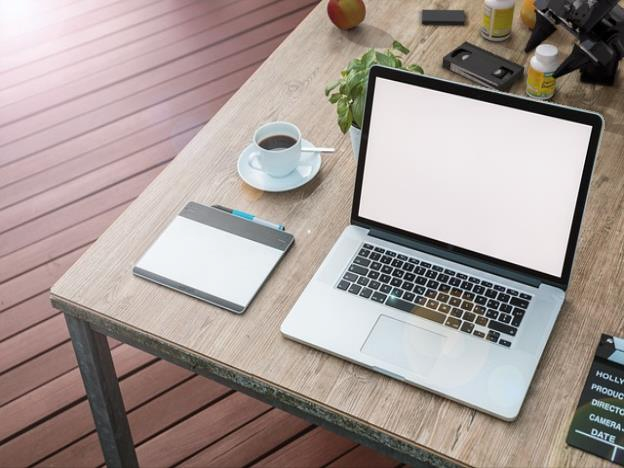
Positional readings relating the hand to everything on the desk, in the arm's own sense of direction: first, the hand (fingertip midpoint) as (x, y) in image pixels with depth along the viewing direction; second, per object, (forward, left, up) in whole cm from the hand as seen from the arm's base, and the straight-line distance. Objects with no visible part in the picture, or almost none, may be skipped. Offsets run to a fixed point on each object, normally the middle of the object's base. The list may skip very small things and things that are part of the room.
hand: (539, 64), depth 157 cm
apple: (+42, -13, -7) cm, 45 cm away
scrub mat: (+23, -22, -7) cm, 32 cm away
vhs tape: (+11, -5, -7) cm, 14 cm away
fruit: (+3, -25, -7) cm, 26 cm away
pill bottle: (+11, -19, -7) cm, 23 cm away
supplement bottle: (-1, -1, -7) cm, 7 cm away
